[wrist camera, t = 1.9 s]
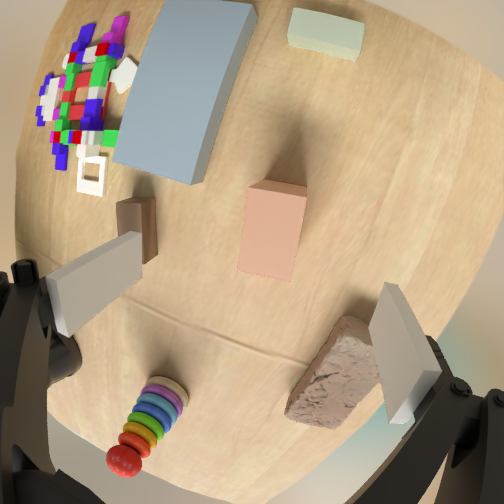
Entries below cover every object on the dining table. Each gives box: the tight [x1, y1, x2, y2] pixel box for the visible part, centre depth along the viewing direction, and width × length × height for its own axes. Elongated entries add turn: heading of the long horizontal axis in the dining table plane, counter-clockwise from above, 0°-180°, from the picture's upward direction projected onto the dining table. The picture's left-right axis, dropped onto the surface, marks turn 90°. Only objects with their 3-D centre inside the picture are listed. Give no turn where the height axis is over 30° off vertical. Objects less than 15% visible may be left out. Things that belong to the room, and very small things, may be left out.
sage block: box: [287, 7, 365, 62], centre depth 21 cm, size 4×7×4 cm, turn 77°
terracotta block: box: [237, 179, 307, 282], centre depth 26 cm, size 4×7×8 cm, turn 172°
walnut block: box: [116, 198, 158, 264], centre depth 32 cm, size 4×7×4 cm, turn 177°
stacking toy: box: [106, 376, 189, 477], centre depth 34 cm, size 8×8×19 cm
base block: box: [112, 0, 258, 185], centre depth 25 cm, size 10×20×4 cm, turn 162°
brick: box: [285, 315, 380, 430], centre depth 33 cm, size 17×8×5 cm, turn 160°
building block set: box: [35, 15, 138, 197], centre depth 28 cm, size 25×20×4 cm
